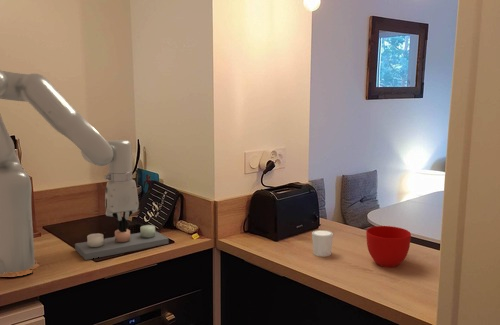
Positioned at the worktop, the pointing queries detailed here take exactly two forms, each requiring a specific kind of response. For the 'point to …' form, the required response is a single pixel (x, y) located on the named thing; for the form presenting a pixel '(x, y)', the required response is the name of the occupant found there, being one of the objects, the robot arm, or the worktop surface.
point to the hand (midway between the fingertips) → (122, 230)
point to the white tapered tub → (322, 242)
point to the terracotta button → (122, 236)
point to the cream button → (95, 240)
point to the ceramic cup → (388, 244)
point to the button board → (120, 245)
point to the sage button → (147, 231)
